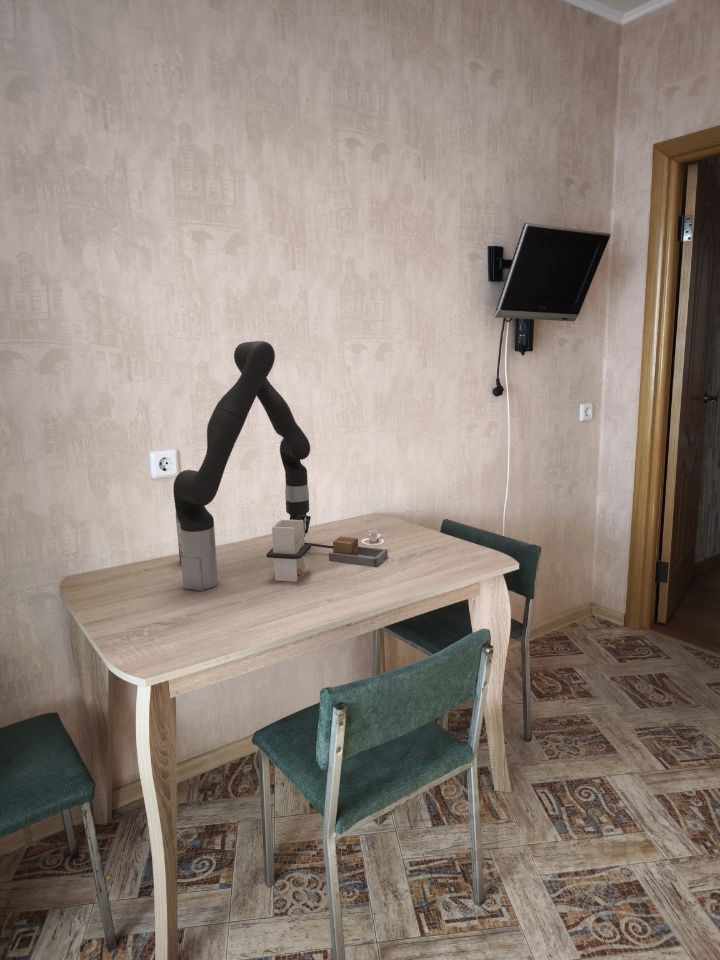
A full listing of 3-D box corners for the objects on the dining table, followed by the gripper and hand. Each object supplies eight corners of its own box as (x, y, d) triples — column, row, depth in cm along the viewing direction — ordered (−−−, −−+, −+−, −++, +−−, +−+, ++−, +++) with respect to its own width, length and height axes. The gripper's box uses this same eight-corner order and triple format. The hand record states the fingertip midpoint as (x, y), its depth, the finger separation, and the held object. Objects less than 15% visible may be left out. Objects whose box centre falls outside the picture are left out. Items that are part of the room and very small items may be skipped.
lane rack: (376, 567, 201) (376, 559, 200) (328, 560, 207) (328, 553, 206) (387, 556, 209) (387, 549, 209) (341, 551, 216) (341, 543, 215)
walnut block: (350, 562, 206) (350, 543, 204) (293, 554, 214) (292, 536, 213) (358, 556, 211) (358, 538, 210) (301, 548, 219) (301, 531, 218)
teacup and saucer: (374, 536, 231) (374, 525, 230) (391, 542, 225) (390, 530, 224) (356, 542, 225) (356, 531, 224) (372, 548, 219) (372, 536, 218)
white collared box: (319, 596, 181) (317, 539, 177) (235, 591, 185) (232, 535, 182) (339, 564, 205) (338, 513, 201) (264, 560, 209) (262, 510, 206)
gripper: (297, 491, 220) (299, 541, 224) (276, 502, 207) (278, 554, 211) (317, 493, 217) (319, 544, 221) (297, 504, 205) (299, 557, 209)
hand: (299, 548), depth 216 cm, fingers closed on walnut block, 2 cm apart
